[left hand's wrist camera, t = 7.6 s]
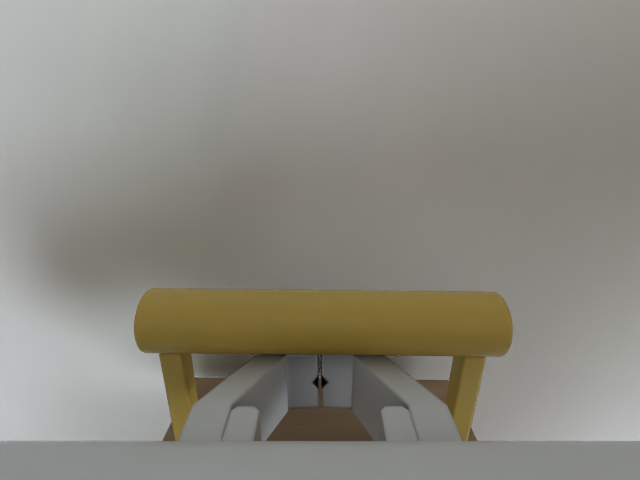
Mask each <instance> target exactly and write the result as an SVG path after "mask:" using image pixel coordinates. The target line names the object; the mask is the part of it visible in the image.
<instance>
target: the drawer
mask: <svg viewBox="0 0 640 480" xmlns="http://www.w3.org/2000/svg"><path fill="white" fill-rule="evenodd" d="M512 333H513V329H512V320H511V315H510V311H509V309H508V306H507V304H506V302H505V301H504V299H503V298H502V297H501V296H500V295H499V294H497V293H495V292H462V291H370V290H278V289H187V288H153V289H150V290H148V291H147V292H146V293H145V294H144V295H143V297H142V298H141V300H140V302H139V305H138V308H137V311H136V316H135V323H134V334H135V340H136V343H137V346H138V348H139V349H140V350H141V351H142V352H145V353H160V354H159V356H160V361H161V366H162V372H163V377H164V383H165V388H166V393H167V399H168V404H169V409H170V415H171V420H172V422H171V424H170V426H169V428H168V430H167V432H166V434H165V437H164V439H163V441H177V440H178V438H179V436H180V433H181V431H182V429H183V427H184V424H185V422H186V420H187V417H188V415H189V413H190V411H191V408H192V406H193V404H195V403H196V402H197V401H198V400H200V399H201V398H202V397H203V396H205V395H206V394H207V393H209V392H210V391H211V390H212V389H214V388H215V387H216V386H217V385H219V384H220V383H221V382H223V381H224V380H225V379H226V378H195V377H194V370H193V363H192V357H191V353H197V354H295V355H393V356H454V357H453V363H452V368H451V374H450V379H449V381H448V380H416V381H417V382H418V383H420V384H421V385H422V386H424V387H425V388H426V389H427V390H429V391H430V392H431V393H432V394H434V395H435V396H436V397H437V398H439V399H440V400H441V401H443V402H444V403H445V404H446V405H447V406H448V408H449V410H450V413H451V415H452V417H453V420H454V422H455V424H456V427H457V429H458V431H459V434H460V436H461V438H462V441H477V439H476V437H475V435H474V433H473V431H472V429H471V423H472V418H473V414H474V409H475V405H476V400H477V396H478V391H479V387H480V382H481V378H482V374H483V369H484V365H485V360H486V357H485V356H490V357H499V356H503V355H504V354H506V353H507V352H508V350H509V348H510V345H511V342H512ZM266 441H374V440H373V438H372V437H371V436H370V434H369V433H368V432H367V430H366V429H365V428H364V426H363V425H362V424H361V422H360V421H359V420H358V418H357V417H356V416H355V414H354V413H353V412H352V409H329V408H322V389H321V379H318V408H310V409H288V412H287V413H286V414H285V416H284V417H283V418H282V420H281V421H280V422H279V424H278V425H277V426H276V428H275V429H274V430H273V432H272V433H271V434H270V436H269V437H268V438H267V440H266Z"/></svg>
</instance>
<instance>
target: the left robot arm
mask: <svg viewBox="0 0 640 480" xmlns="http://www.w3.org/2000/svg"><path fill="white" fill-rule="evenodd" d="M318 379H319V355H295V354H261V355H258V356H254V357H253V358H252V359H251V360H249V361H248V362H247V363H246V364H244V365H243V366H242V367H240V368H239V369H238V370H237V371H235V372H234V373H233V374H231V375H230V376H229V377H228V378H226V379H225V380H224V381H223V382H221V383H220V384H219V385H217V386H216V387H215V388H214V389H212V390H211V391H210V392H209V393H207V394H206V395H205V396H203V397H202V398H201V399H200V400H198V401H197V402H196V403H195V404H193V406H192V408H191V411H190V413H189V415H188V417H187V420H186V422H185V424H184V427H183V429H182V431H181V433H180V436H179V438H178V440H177V441H0V480H640V441H462V438H461V436H460V434H459V431H458V429H457V427H456V424H455V422H454V420H453V417H452V415H451V413H450V410H449V408H448V406H447V405H446V404H445V403H444V402H443V401H441V400H440V399H439V398H437V397H436V396H435V395H434V394H432V393H431V392H430V391H429V390H427V389H426V388H425V387H424V386H422V385H421V384H420V383H418V382H417V381H416V380H415V379H413V378H412V377H411V376H410V375H408V374H407V373H406V372H405V371H403V370H402V369H401V368H399V367H398V366H397V365H396V364H394V363H393V362H392V361H391V360H389V359H388V358H387V357H386V356H382V355H321V389H322V408H329V409H352V412H353V413H354V414H355V416H356V417H357V418H358V420H359V421H360V422H361V424H362V425H363V426H364V428H365V429H366V430H367V432H368V433H369V434H370V436H371V437H372V438H373V440H374V441H266V440H267V438H268V437H269V436H270V434H271V433H272V432H273V430H274V429H275V428H276V426H277V425H278V424H279V422H280V421H281V420H282V418H283V417H284V416H285V414H286V413H287V412H288V409H310V408H318Z"/></svg>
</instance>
